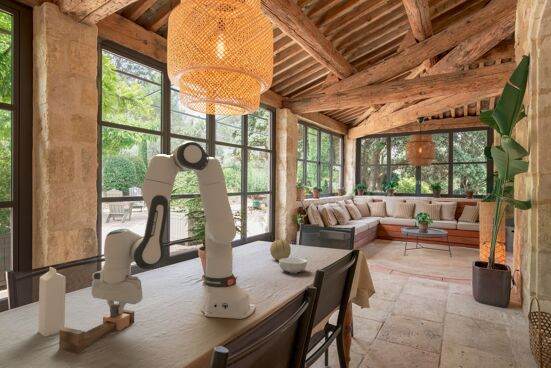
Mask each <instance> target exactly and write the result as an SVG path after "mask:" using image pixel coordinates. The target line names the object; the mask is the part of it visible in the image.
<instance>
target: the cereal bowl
mask: <svg viewBox="0 0 551 368" xmlns="http://www.w3.org/2000/svg"><path fill="white" fill-rule="evenodd" d="M307 262H308V260H307V259H304V258H300V257H288V258H283V259H280V260H278V263H279V267H280V269H281V270H283V271H285V272H286V271H287V272H286V273H288V272H290V273H289V274H298V273H297V272H299V273H300V272H302V271H304V270H305V269H306V267H307V264H308V263H307Z"/></svg>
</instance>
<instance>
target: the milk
mask: <svg viewBox="0 0 551 368" xmlns="http://www.w3.org/2000/svg"><path fill="white" fill-rule="evenodd" d="M66 278H67V277H66V276H65V275H62V274H61V273H58V272H57V268H54V267H52V266H49V271H47V272H45V273H44V274H43V275H41V276H40V277H39V288H38V289H39V291H38V294H39V295H38V331H37V332H38V333H40V335H42V336H43V337H48V336H52V335H55V334H59V332H60V330H61V329H63V328H65V327H66V324H65V322H66V321H65V319H66V315H65V314H66V280H67V279H66Z"/></svg>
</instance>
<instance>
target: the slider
mask: <svg viewBox="0 0 551 368" xmlns="http://www.w3.org/2000/svg"><path fill="white" fill-rule="evenodd" d="M114 304H115V305H112V306H111V309H110V308H109V313H108V314H107V315H104V316H102V324H103V323H105V322H107V321H110V322H115V323H116V330H115V331H121V330H123V329H124V328H126V327H128V326H130V324H131V323H130V314H124V313H121V314H118V313H116V312H117V308H119V306H120V305H119V302H116V303H114Z"/></svg>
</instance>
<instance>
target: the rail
mask: <svg viewBox="0 0 551 368" xmlns="http://www.w3.org/2000/svg"><path fill="white" fill-rule="evenodd" d="M123 313H124V314H130V323H129V324H133V323H135V311H134V310H128V309H124V308H123ZM115 331H117V330H116V323H115V322H110V321H107V322H105V323H103V322H102V323H101V324H99V325H97V326H95V327H93V328H91V329H89V330H87V331H85V330H81V329H76V328H71V327H67V326H65V328H63V329H61V330H60V332H58V334H59V339H58V340H59V341H58V350H60V351H63V352H64V351H65V352H69V353H74V354H78V355H80V354H82V353H83V352H85V348H86V347H87V346H89V345H91V344H93V343H94V342H96V341H98V340H101V339H102V338H104V337H106V336H108V335H109V334H111V333H113V332H115Z"/></svg>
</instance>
